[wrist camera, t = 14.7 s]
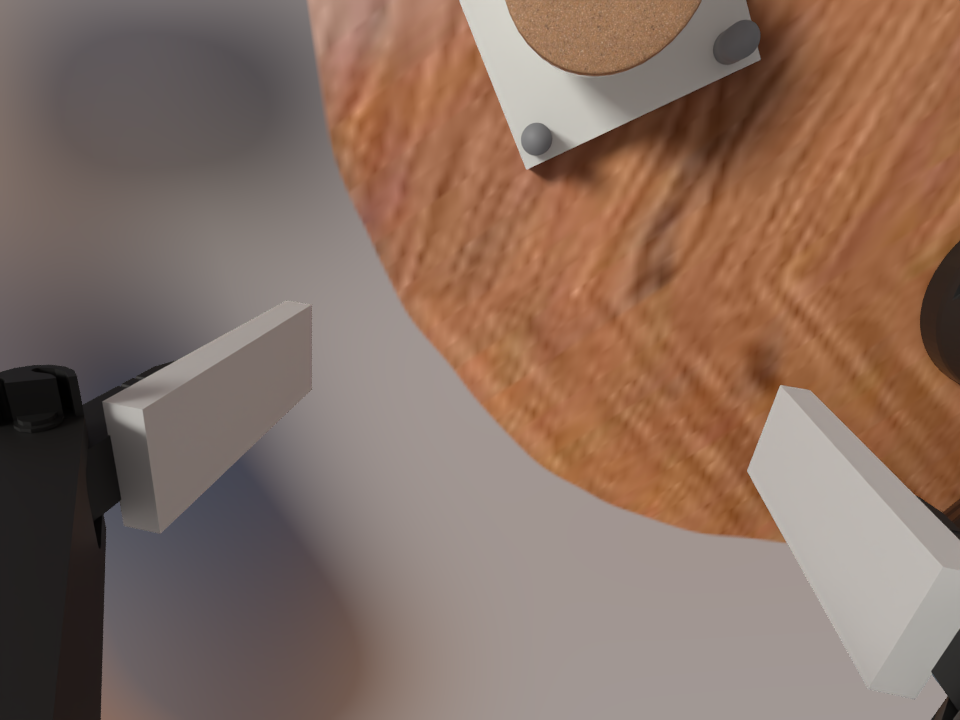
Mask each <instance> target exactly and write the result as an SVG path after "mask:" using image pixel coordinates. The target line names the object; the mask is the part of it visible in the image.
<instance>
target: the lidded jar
mask: <svg viewBox="0 0 960 720" xmlns="http://www.w3.org/2000/svg"><path fill="white" fill-rule="evenodd" d="M701 1H702V0H505V2H506V5H507V8H508V11H509V14H510V16H511V18H512V20H513V22H514V24H515V26H516V28H517V30H518V32H519V33H520V35H521V36H522V37H523V39H524V40H525V41H526V43H527V44H528V45H529V46H530V47H531V48H532V49H533V50H534V51H535V52H536V53H537V54H538V55H539V56H540V57H541V58H542V59H543V60H544V61H546V62H547V63H549V64H550V65H551V66H553V67H554V68H557V69H559V70H561V71H563V72H565V73H568V74H572V75H575V76H579V77H590V78H597V77H607V76H612V75H615V74H619V73H623V72H625V71H627V70H630V69H632V68H634V67H636V66H639V65H641V64H643V63H644V62H646V61H648V60H649V59H651V58H652V57H654V56H655V55H657V54H658V53H659V52H661V51H662V50H663V49H664V48H665V47H666V46H668V45H669V44H670V43H671V42H672V41H673V40H674V39H675V38H676V37H677V36H678V34H679V33H680V32H681V31H682V30H683V29H684V28H685V26H686V25H687V24H688V22H689V21H690V19H691V18H692V16H693V15H694V13H695V12H696V10H697V9H698V7H699V5H700V3H701Z"/></svg>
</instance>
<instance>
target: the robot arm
mask: <svg viewBox="0 0 960 720" xmlns="http://www.w3.org/2000/svg"><path fill="white" fill-rule="evenodd" d="M920 328H921V336H922V340H923V343H924V346H925V349H926V351H927V353H928V355H929V356H930V358H931V360H932V361H933V362H934V364H935V365H936V366H937V367H938V368H939V369H940V370H941V371H942V372H943V373H944V374H945V375H947V376H948V377H949V378H951V379H952V380H954V381H956V382H957V383H959V384H960V241H959V242H958V243H957V244H956V245H955V246H954V247H953V249H952V250H951V251H950V252H949V253H948V254H947V256H946V257H945V258H944V260H943V261H942V262H941V264H940V265H939V267H938V268H937V270H936V271H935V273H934V275H933V277H932V279H931V281H930V283H929V285H928V287H927V290H926V292H925V296H924V299H923V303H922V307H921V315H920ZM311 390H312V305H311V304H304V303H299V302H293V301H287V300H286V301H284V302H283V303H281V304H279V305H277V306H275V307H273V308H272V309H270V310H268V311H266V312H265V313H263V314H261V315H259V316H257V317H255V318H253V319H252V320H250V321H248V322H246V323H244V324H243V325H241V326H239V327H237V328H235V329H234V330H232V331H230V332H228V333H226V334H225V335H223V336H221V337H219V338H217V339H215V340H214V341H212V342H210V343H208V344H207V345H205V346H202V347H201V348H199V349H197V350H195V351H193V352H192V353H190V354H188V355H186V356H184V357H182V358H181V359H179V360H176V361H172V362H169V363H165V364H162V365H159V366H155V367H153V368H151V369H149V370H147V371H145V372H143V373H141V374H140V375H138V376H137V377H136V379H135V378H132V379H130V380H128V381H126V382H125V383H123V384H122V386H121V387H120V386H117V387H115V388H113V389H111V390H110V391H108V392H106V393H104V394H102V395H100V396H98V397H96V398H95V399H93V400H91V401H89V402H87V403H85V404H83V405H82V401H81V396H80V390H79V386H78V381H77V376H76V373H75V371H74V370H72V369H69V368H67V367H64V366H56V365H32V366H25V367H19V368H13V369H10V370H6V371H2V372H0V720H101V718H100V717H101V686H102V684H101V683H102V652H103V651H102V650H103V619H104V617H103V616H104V583H105V550H106V526H105V521H104V515H103V514H104V513H105V512H106V511H108V510H109V509H110V508H111V507H113V506H114V505H115V504H116V503H118V502H119V501H120V506H121V512H122V517H123V523H124V526H127V527H132V528H136V529H141V530H146V531H150V532H155V533H159V534H160V533H161V532H162V531H163V530H165V529H166V528H167V527H168V526H169V525H170V524H171V523H172V522H173V521H174V520H175V519H176V518H177V517H178V516H179V515H180V514H181V513H182V512H183V511H185V510H186V509H187V508H188V507H189V506H190V505H191V504H192V503H193V502H194V501H195V500H196V499H197V498H198V497H199V496H200V495H201V494H202V493H203V492H205V491H206V490H207V489H208V488H209V487H210V486H211V485H212V484H213V483H214V482H215V481H216V480H217V479H218V478H219V477H220V476H221V475H222V474H223V473H224V472H226V470H228V469H229V468H230V467H231V466H232V465H233V464H234V463H235V462H236V461H237V460H238V459H239V458H240V457H241V456H242V455H243V454H244V453H245V452H246V451H248V450H249V449H250V448H251V447H252V446H253V445H254V444H255V443H256V442H257V441H258V440H259V439H260V438H261V437H262V436H263V435H264V434H265V433H267V432H268V431H269V430H270V429H271V427H273V426H274V425H275V424H276V423H277V422H278V421H279V420H280V419H281V418H282V417H283V416H284V415H285V414H286V413H288V412H289V410H291V409H292V408H293V407H294V406H295V405H296V404H297V403H298V402H299V401H300V400H301V399H302V398H303V397H304V396H305V395H306V394H307V393H308V392H310V391H311ZM747 472H748V474H749V475H750V477H751V479H752V481H753V483H754V484H755V486H756V488H757V490H758V492H759V493H760V495H761V497H762V499H763V501H764V502H765V504H766V506H767V508H768V510H769V511H770V513H771V515H772V517H773V519H774V521H775V522H776V524H777V526H778V528H779V530H780V531H781V533H782V535H783V537H784V539H785V540H786V542H787V544H788V546H789V548H790V549H791V551H792V553H793V555H794V557H795V558H796V560H797V562H798V564H799V566H800V567H801V569H802V571H803V573H804V575H805V576H806V578H807V580H808V582H809V584H810V585H811V587H812V589H813V591H814V593H815V594H816V596H817V598H818V600H819V601H820V603H821V605H822V607H823V609H824V610H825V612H826V614H827V616H828V618H829V620H830V621H831V623H832V625H833V627H834V629H835V630H836V632H837V634H838V636H839V638H840V640H841V641H842V643H843V645H844V647H845V649H846V650H847V652H848V654H849V656H850V658H851V659H852V661H853V663H854V665H855V666H856V668H857V670H858V672H859V674H860V675H861V677H862V679H863V681H864V683H865V685H866V686H867V688H868V689H870V690H874V691H879V692H883V693H888V694H892V695H897V696H901V697H906V698H911V699H916V698H917V696H918V694H919V693H920V691H921V690H922V688H923V687H924V686H925V684H926V683H927V681H928V680H929V678H930V677H931V675H933V677H934V678H935V679H936V681H937V682H938V683H939V684H940V686H941V687H942V688H943V690H944V691H945V693H946V694H947V695H948V697H947V698H946V699H945V701H944V702H943V704H942V705H941V707H940V708H939V709H938V711H937V712H936V714H935V715H934V716H933V718H932V719H931V720H960V499H959V500H958V501H957V502H955V503H954V504H953V505H952V506H950V507H949V508H948V509H947V510H945V511H944V512H943V513H942V512H940V511H939V510H937V509H936V508H934V507H933V506H931V505H930V504H928V503H927V502H925V501H924V500H922V499H921V498H919V497H918V496H915V495H914V494H913V493H912V492H911V491H910V490H909V489H908V488H907V487H906V486H905V485H904V484H903V483H902V482H901V481H900V480H899V479H898V478H897V477H896V476H895V475H894V474H893V473H892V472H891V471H890V470H889V469H888V468H887V467H886V466H885V465H884V464H883V463H882V462H881V461H880V460H879V459H878V458H877V457H876V456H875V455H874V454H873V453H872V452H871V451H870V450H869V449H868V448H867V447H866V446H865V445H864V444H863V443H862V442H861V441H860V440H859V439H858V438H857V437H856V436H855V435H854V434H853V433H852V432H851V431H850V430H849V429H848V428H847V427H846V426H845V425H844V424H843V423H842V422H841V421H840V420H839V419H838V418H837V417H836V416H835V415H834V414H833V413H832V412H831V411H830V410H829V409H828V408H827V407H826V406H825V405H824V404H823V403H822V402H821V401H820V400H819V399H818V398H817V397H816V396H815V395H814V394H813V393H812V392H811V391H810V390H806V389H800V388H794V387H788V386H783V385H780V387H779V390H778V392H777V395H776V398H775V400H774V403H773V405H772V408H771V411H770V413H769V416H768V418H767V421H766V423H765V426H764V429H763V431H762V434H761V436H760V439H759V442H758V444H757V447H756V449H755V452H754V454H753V457H752V460H751V462H750V465H749V467H748V470H747Z"/></svg>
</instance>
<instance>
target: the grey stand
mask: <svg viewBox="0 0 960 720" xmlns="http://www.w3.org/2000/svg"><path fill="white" fill-rule="evenodd" d="M459 1H460V3H461V6H462V9H463V11H464V14H465V16H466V19H467V21H468V24H469V26H470V29H471V31H472V34H473V36H474V39H475V41H476V44H477V46H478V49H479V51H480V54H481V56H482V59H483V61H484V64H485V67H486V69H487V72H488V74H489V77H490V79H491V82H492V84H493V87H494V89H495V92H496V94H497V97H498V99H499V102H500V104H501V107H502V109H503V112H504V114H505V117H506V119H507V122H508V125H509V127H510V130H511V132H512V135H513V137H514V140H515V142H516V145H517V147H518V150H519V152H520V155H521V157H522V160H523V162H524V165H525V167H526V170H527V169H529V168H531V167H533V166H535V165H538V164H540V163H542V162H544V161H546V160H548V159H550V158H553V157H555V156H557V155H559V154H561V153H563V152H565V151H567V150H570V149H572V148H574V147H576V146H578V145H580V144H582V143H584V142H587V141H589V140H591V139H593V138H595V137H597V136H599V135H602V134H604V133H606V132H608V131H610V130H612V129H614V128H616V127H619V126H621V125H623V124H625V123H627V122H629V121H631V120H633V119H636V118H638V117H640V116H642V115H644V114H646V113H648V112H651V111H653V110H655V109H657V108H659V107H661V106H663V105H665V104H668V103H670V102H672V101H674V100H676V99H678V98H680V97H682V96H685V95H687V94H689V93H691V92H693V91H695V90H697V89H699V88H702V87H704V86H706V85H708V84H710V83H712V82H714V81H717V80H719V79H721V78H723V77H725V76H727V75H729V74H731V73H734V72H736V71H738V70H740V69H742V68H744V67H746V66H748V65H751V64H753V63H755V62H757V61H759V60H761V58H760V54H759V50H758V44H759V42H760V30H759V27H758V26H757V24H756V23H754V22H753V21H751V18H750V14H749V10H748V6H747V2H746V0H702V1H701V3H700V5H699V7H698V9H697V10H696V12H695V13H694V15H693V16H692V18H691V19H690V21H689V22H688V24H687V25H686V26H685V28H684V29H683V30H682V31H681V32H680V33H679V34H678V36H677V37H676V38H675V39H674V40H673V41H672V42H671V43H670V44H669V45H668V46H666V47H665V48H664V49H663V50H662V51H661V52H659V53H658V54H657V55H655V56H654V57H652V58H651V59H649V60H648V61H646V62H644V63H643V64H641V65H639V66H636V67H634V68H632V69H630V70H627V71H625V72H623V73H619V74H615V75H612V76H607V77H597V78H590V77H579V76H575V75H572V74H568V73H565V72H563V71H561V70H559V69H557V68H554V67H553V66H551V65H550V64H549V63H547V62H546V61H544V60H543V59H542V58H541V57H540V56H539V55H538V54H537V53H536V52H535V51H534V50H533V49H532V48H531V47H530V46H529V45H528V44H527V43H526V41H525V40H524V39H523V37H522V36H521V35H520V33H519V32H518V30H517V28H516V26H515V24H514V22H513V20H512V18H511V16H510V14H509V11H508V8H507V5H506V2H505V0H459Z"/></svg>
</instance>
